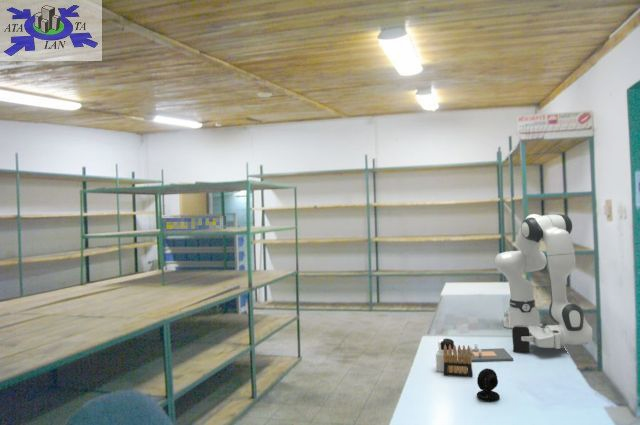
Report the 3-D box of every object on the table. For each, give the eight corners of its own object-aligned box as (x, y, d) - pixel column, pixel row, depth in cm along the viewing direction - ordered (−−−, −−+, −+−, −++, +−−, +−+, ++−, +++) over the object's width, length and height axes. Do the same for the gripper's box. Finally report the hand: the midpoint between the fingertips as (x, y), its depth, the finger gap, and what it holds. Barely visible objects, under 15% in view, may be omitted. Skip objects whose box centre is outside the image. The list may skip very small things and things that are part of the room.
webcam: (486, 404, 167) (485, 374, 167) (471, 396, 174) (470, 367, 174) (504, 399, 170) (503, 369, 170) (489, 391, 177) (487, 363, 177)
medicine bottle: (457, 367, 204) (456, 337, 203) (454, 373, 197) (453, 342, 197) (440, 365, 207) (438, 336, 206) (436, 371, 200) (435, 341, 200)
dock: (457, 351, 223) (457, 342, 223) (503, 350, 221) (503, 341, 221) (463, 362, 209) (463, 352, 209) (513, 360, 207) (512, 351, 207)
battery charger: (530, 350, 219) (529, 324, 219) (530, 353, 216) (529, 326, 215) (513, 349, 222) (512, 323, 222) (512, 352, 218) (511, 326, 218)
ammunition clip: (472, 375, 194) (471, 344, 193) (472, 377, 192) (470, 346, 192) (444, 373, 197) (442, 343, 197) (443, 375, 196) (442, 344, 195)
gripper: (543, 322, 228) (511, 323, 229) (560, 334, 207) (526, 335, 209) (543, 336, 228) (512, 337, 229) (561, 349, 207) (526, 350, 209)
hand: (518, 336), depth 219 cm, fingers closed on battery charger, 4 cm apart
